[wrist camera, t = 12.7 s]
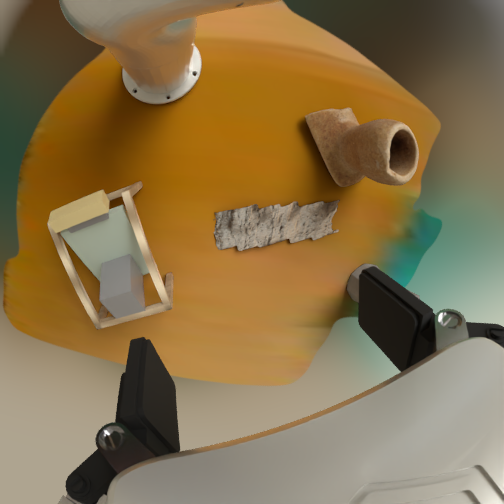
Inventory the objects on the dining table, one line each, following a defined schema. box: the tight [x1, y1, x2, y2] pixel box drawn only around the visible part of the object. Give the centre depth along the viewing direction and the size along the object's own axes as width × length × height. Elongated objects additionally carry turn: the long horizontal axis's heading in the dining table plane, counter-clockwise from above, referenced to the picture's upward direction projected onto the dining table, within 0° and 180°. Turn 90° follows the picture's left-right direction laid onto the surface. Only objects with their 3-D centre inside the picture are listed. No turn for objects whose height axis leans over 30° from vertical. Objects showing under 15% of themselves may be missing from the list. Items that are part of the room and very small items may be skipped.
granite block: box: [100, 254, 146, 319], centre depth 38 cm, size 5×5×7 cm
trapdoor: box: [48, 190, 157, 281], centre depth 35 cm, size 18×10×3 cm, turn 12°
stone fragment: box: [214, 200, 340, 251], centre depth 49 cm, size 25×3×10 cm
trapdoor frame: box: [47, 181, 173, 329], centre depth 39 cm, size 18×13×10 cm
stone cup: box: [305, 108, 419, 187], centre depth 39 cm, size 15×12×15 cm
